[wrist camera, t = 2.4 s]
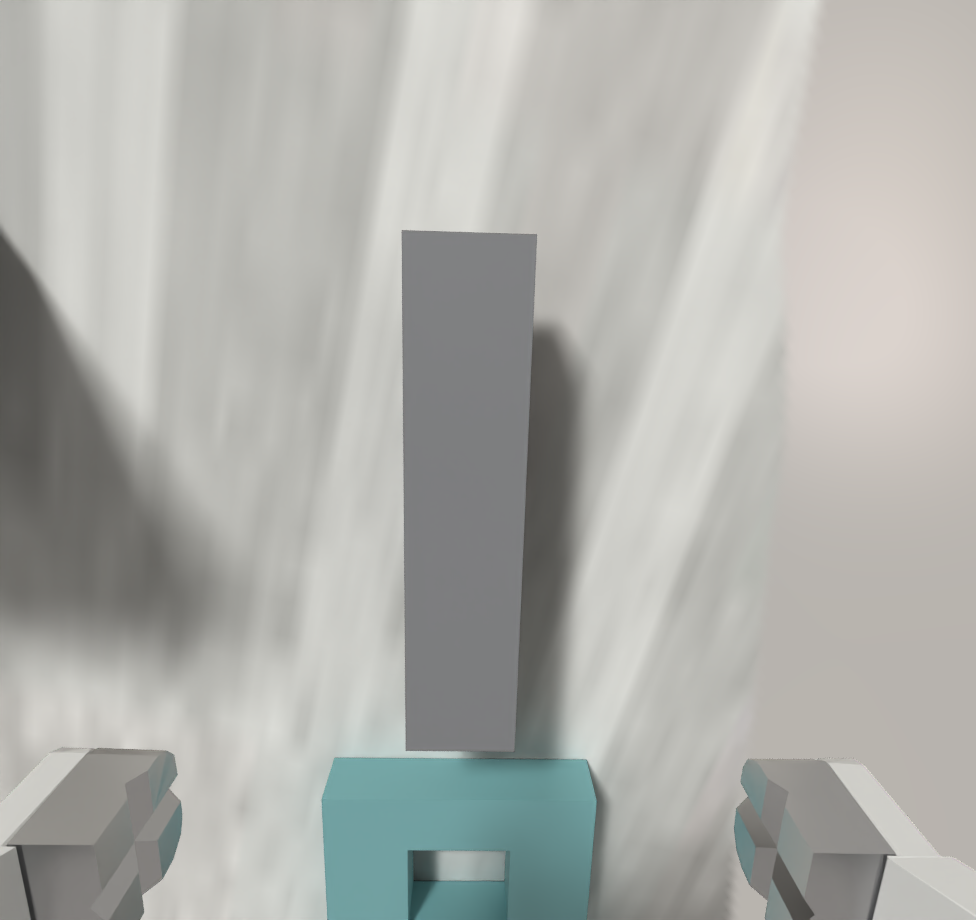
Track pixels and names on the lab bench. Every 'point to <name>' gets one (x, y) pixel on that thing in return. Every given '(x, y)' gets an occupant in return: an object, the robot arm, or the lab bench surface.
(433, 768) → the mounting plate
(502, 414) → the pin bar
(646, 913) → the lab bench surface
